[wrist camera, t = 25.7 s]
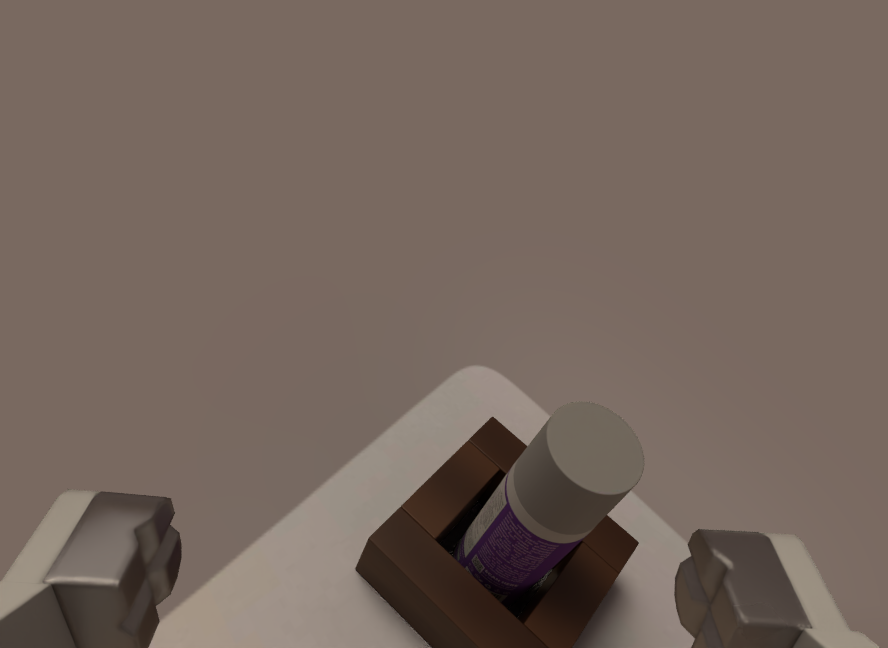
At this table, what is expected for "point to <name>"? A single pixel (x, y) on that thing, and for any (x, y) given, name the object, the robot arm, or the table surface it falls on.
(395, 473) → the table surface
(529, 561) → the container
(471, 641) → the socket
